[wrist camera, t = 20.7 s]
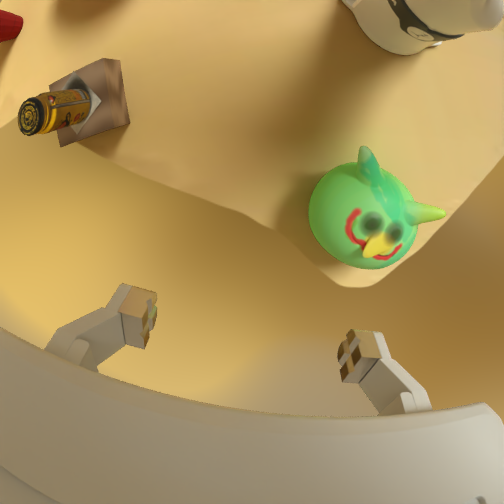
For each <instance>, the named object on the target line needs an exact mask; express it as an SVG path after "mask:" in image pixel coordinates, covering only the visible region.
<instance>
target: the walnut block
mask: <svg viewBox="0 0 504 504" xmlns="http://www.w3.org/2000/svg"><path fill="white" fill-rule="evenodd" d="M75 73H76V74H77V75H78V76H79V77H80V78H81V79H82V80H83V81H84V83H85V84H87V86H88V87H89V88H90V89H91V90H92V91H93V92H94V93H95V94H96V95H97V96H98V98H99V99H100V100H101V102H100V104H99V105H98V106H97V108H96V109H95V110H94V112H93V113H92V114H91V116H90V117H89V119H88V120H87V121H86V123H85V124H84V126H83V127H82V128H81V130H80V131H79V133H78V134H76V132H75V131H74V130H73V129H72V127H71V126H68V127H65V128H61V129H58V130H57V134H58V139H59V143H60V147H63V146H66V145H68V144H71V143H73V142H76V141H79V140H81V139H84V138H87V137H90V136H92V135H95V134H98V133H101V132H104V131H107V130H110V129H113V128H116V127H119V126H122V125H126V124H129V123H130V119H129V114H128V109H127V103H126V98H125V92H124V85H123V79H122V72H121V65H120V60H114V59H106V58H102V59H100V60H98V61H95V62H93V63H91V64H89V65H87V66H85V67H83V68H81V69H79V70H77V71H75ZM71 74H72V73H71ZM71 74H69V75H67V76H65V77H63V78H61V79H60V80H58V81H56V82H54V83H52V84H51V85H49V89H50V92H53V91H61V90H62V88H63V87H64V85H65V84H66V82H67V81H68V79H69V78H70V76H71Z"/></svg>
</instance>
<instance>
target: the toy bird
mask: <svg viewBox="0 0 504 504" xmlns="http://www.w3.org/2000/svg"><path fill="white" fill-rule="evenodd" d="M445 216H446V212H445V211H444V210H442V209H440V208H438V207H434V206H431V205H426V204H422V203H418V202H415V201H414V199H413V197H412V195H411V194H410V192H409V191H408V189H407V188H406V187H405V186H404V184H403V183H402V182H401V181H400V180H398V179H397V178H396V177H395V176H393V175H392V174H391V173H389V172H387V171H386V170H384V169H382V168H380V166H379V164H378V162H377V160H376V158H375V156H374V155H373V153H372V152H371V150H370V149H369V148H368V147H366V146H361V147H360V149H359V153H358V162H355V163H346V164H343V165H340V166H338V167H335V168H334V169H332V170H331V171H329V172H328V173H327V174H325V175H324V176H323V177H322V179H321V180H320V181H319V182H318V184H317V185H316V187H315V189H314V191H313V193H312V195H311V198H310V202H309V209H308V217H309V224H310V227H311V230H312V232H313V235H314V236H315V238H316V240H317V241H318V242H319V244H320V245H321V246H322V247H323V248H324V249H325V250H326V251H327V252H328V253H329V254H331V255H332V256H333V257H335V258H336V259H338V260H339V261H341V262H343V263H345V264H347V265H350V266H353V267H356V268H361V269H380V268H384V267H387V266H390V265H392V264H393V263H395V262H397V261H398V260H399V259H401V258H402V257H403V256H404V255H405V254H406V253H407V251H408V250H409V249H410V247H411V246H412V244H413V242H414V239H415V237H416V234H417V229H418V224H420V223H425V222H430V221H435V220H439V219H442V218H444V217H445Z"/></svg>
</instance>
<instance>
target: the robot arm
mask: <svg viewBox="0 0 504 504" xmlns="http://www.w3.org/2000/svg"><path fill="white" fill-rule="evenodd" d="M342 2H343V3H344V4H345V5H346V6H347V7H348V8H349V9H350V10H351V11H352V12H353V14H354V15H355V18H356V20H357V22H358V24H359V26H360V27H361V29H362V30H363V31H364V33H365V34H366V35H367V36H368V37H369V38H370V39H371V40H372V41H373V42H374V43H376V44H377V45H378V46H380V47H382V48H383V49H385V50H387V51H389V52H392V53H395V54H400V55H412V54H416V53H418V52H420V51H422V50H423V49H425V48H426V47H430V46H438V45H440V44H441V43H442V41H446V40H451V39H457V38H459V37H461V36H463V35H464V34H466V33H473V32H481V31H489V30H493V29H494V28H496V27H497V26H498V25H499V23H500V22H501V20H502V18H503V15H504V2H503V0H342ZM156 301H157V293H156V292H153V291H149V290H146V289H142V288H139V287H135V286H131V285H127V284H124V283H122V284H121V285H120V286H119V287H118V289H117V290H116V292H115V293H114V295H113V296H112V298H111V300H110V301H109V303H108V304H107V306H106V308H100V309H98V310H96V311H94V312H92V313H89V314H87V315H85V316H83V317H81V318H79V319H77V320H75V321H73V322H71V323H69V324H67V325H65V326H63V327H61V328H59V329H57V331H56V332H55V334H54V335H53V337H52V338H51V340H50V341H49V343H48V344H47V346H46V348H45V349H44V350H43V349H41V348H39V347H37V346H35V345H33V344H30V343H29V342H27V341H25V340H23V339H21V338H19V337H17V336H16V335H14V334H12V333H10V332H8V331H7V330H5V329H3V328H1V327H0V504H504V425H503V423H502V420H501V419H500V417H499V416H498V415H497V414H496V413H495V412H494V411H493V410H492V409H491V408H490V407H489V406H488V405H487V404H486V403H484V402H478V403H473V404H469V405H464V406H458V407H453V408H447V409H441V410H434V411H433V410H432V407H431V404H430V401H429V398H428V395H427V392H426V390H425V389H424V388H423V387H422V386H421V385H420V384H419V383H418V382H417V381H416V380H415V379H414V378H413V377H412V376H411V375H409V373H408V372H407V371H406V370H405V369H404V368H402V367H401V366H400V365H399V364H398V363H397V362H396V361H395V360H392V359H391V356H390V353H389V350H388V347H387V345H386V342H385V339H384V337H383V334H382V333H381V332H373V331H371V332H370V331H363V330H354V329H351V330H350V331H349V332H348V333H347V335H346V336H347V339H346V340H344V341H343V342H342V343H341V344H340V346H339V349H338V356H337V357H338V362H339V363H340V365H341V366H342V368H341V369H340V374H341V379H342V382H345V383H358V384H359V386H360V387H361V388H362V390H363V391H364V393H365V394H366V395H367V397H368V398H369V400H370V401H371V402H372V404H373V405H374V407H375V408H376V409H377V410H378V412H379V414H378V415H377V416H362V417H327V416H302V415H289V414H277V413H267V412H259V411H251V410H244V409H237V408H231V407H224V406H219V405H213V404H208V403H203V402H198V401H193V400H189V399H185V398H180V397H176V396H172V395H168V394H164V393H160V392H157V391H153V390H149V389H146V388H142V387H139V386H136V385H133V384H129V383H126V382H123V381H120V380H117V379H114V378H111V377H108V376H105V375H103V374H100V373H98V369H97V365H99V364H100V363H102V362H103V361H104V360H105V359H107V358H108V357H110V356H111V355H112V354H114V353H115V352H117V351H118V350H119V349H121V348H122V347H124V346H125V344H127V345H130V346H134V347H138V348H142V349H145V347H146V344H147V342H148V339H149V331H151V330H152V329H153V327H154V324H155V321H156V317H157V307H156V306H155V303H156Z"/></svg>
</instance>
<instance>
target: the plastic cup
mask: <svg viewBox="0 0 504 504" xmlns="http://www.w3.org/2000/svg"><path fill="white" fill-rule="evenodd" d="M22 26H23V18H22V17H20V16H18V15H15V14H13V13H10V12H6V11H3V10H0V43H1V42H3V41H8V40H11V39H14V38H15V37H16V36H17V35H18V34H19V33H20V31H21V29H22Z"/></svg>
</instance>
